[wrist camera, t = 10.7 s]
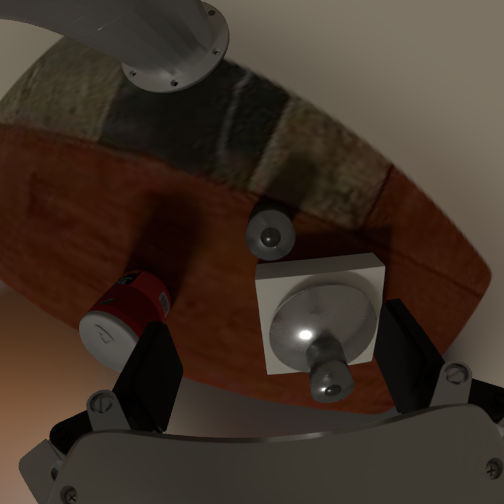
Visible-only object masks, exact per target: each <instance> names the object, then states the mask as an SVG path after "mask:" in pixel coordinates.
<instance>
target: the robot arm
mask: <svg viewBox="0 0 504 504" xmlns="http://www.w3.org/2000/svg"><path fill="white" fill-rule="evenodd" d="M212 15H213V16H212ZM0 19H7V20H14V21H19V22H24V23H28V24H32V25H35V26H38V27H42V28H45V29H48V30H50V31H53V32H56V33H58V34H61V35H64V36H66V37H69V38H71V39H73V40H76V41H78V42H80V43H83V44H85V45H87V46H89V47H92V48H94V49H96V50H98V51H100V52H102V53H104V54H107V55H109V56H111V57H113V58H115V59H117V60H119V61H121V64H122V68H123V71H124V73H125V75H126V76H127V78H128V79H129V80H130V81H131V82H132V83H133V84H135V85H136V86H138V87H140V88H142V89H145V90H147V91H150V92H157V93H170V92H175V91H180V90H183V89H185V88H188V87H191V86H193V85H195V84H196V83H198V82H200V81H202V80H203V79H204V78H206V77H207V76H208V75H210V74H211V73H212V72H213V71H214V70H215V69H216V68H217V66H218V65H219V64H220V62H221V61H222V59H223V58H224V56H225V53H226V51H227V49H228V44H229V29H228V25H227V23H226V20H225V18H224V16H223V15H222V14H221V13H220V11H218V10H217V9H216V8H215V7H213V6H211V5H209V4H207V3H205V2H201V1H200V0H0ZM217 52H219V54H218V55H215V54H216V53H217ZM135 74H136V75H135ZM176 83H178V85H177V86H175V84H176ZM374 356H375V359H376V361H377V363H378V365H379V368H380V370H381V372H382V375H383V377H384V380H385V382H386V384H387V387H388V389H389V392H390V394H391V397H392V399H393V402H394V404H395V407H396V409H397V412H398V413H402V415H399V416H395V417H392V418H388V419H384V420H380V421H375V422H371V423H367V424H362V425H358V426H353V427H348V428H342V429H337V430H331V431H324V432H317V433H309V434H301V435H291V436H279V437H259V438H213V437H194V436H183V435H171V434H162V433H163V432H165V431H166V429H167V426H168V423H169V419H170V416H171V412H172V409H173V405H174V402H175V399H176V395H177V392H178V388H179V385H180V382H181V379H182V375H183V366H182V364H181V361H180V359H179V356H178V354H177V351H176V348H175V346H174V343H173V340H172V338H171V335H170V332H169V329H168V327H167V325H166V324H163V322H162V321H150V322H148V324H147V326H146V327H145V329H144V331H143V333H142V335H141V336H140V338H139V340H138V342H137V344H136V346H135V347H134V349H133V351H132V353H131V355H130V357H129V359H128V360H127V362H126V364H125V366H124V368H123V370H122V372H121V374H120V376H119V378H118V380H117V382H116V384H115V386H114V388H113V390H112V391H110V390H100V391H97V392H96V393H94V394H93V395H92V396H90V398H89V399H88V401H87V405H86V406H87V410H86V411H83V412H81V413H79V414H77V415H75V416H73V417H71V418H68V419H66V420H64V421H62V422H59V423H58V424H56V425H55V426H54V427H53V428H52V430H51V431H50V436H49V437H50V439H49V440H47V439H45V440H43V441H42V442H41V443H40V444H38V445H37V446H36V447H35V448H33V449H32V450H31V451H30V452H28V453H27V454H26V455H25V456H23V457H22V458H21V459H20V462H19V471H20V472H21V475H22V477H23V478H24V480H25V482H26V484H27V486H28V487H29V489H30V491H31V492H32V494H33V496H34V497H35V499H36V501H37V502H38V503H39V504H504V388H502V387H499V386H496V385H492V384H489V383H485V382H482V381H479V380H476V379H473V378H472V372H471V370H470V368H469V367H468V365H466V364H465V363H463V362H461V361H449V362H447V363H445V362H444V360H443V358H442V357H441V355H440V354H439V352H438V351H437V349H436V348H435V346H434V345H433V343H432V342H431V340H430V339H429V337H428V336H427V334H426V333H425V332H424V330H423V329H422V327H421V326H420V325H419V324H418V323H417V322H416V320H415V319H414V317H413V316H412V315H411V313H410V312H409V311H408V309H407V308H406V307H405V305H404V304H403V303H402V301H401V300H400V299H398V298H397V299H392V300H387V301H386V303H385V304H383V305H382V309H381V316H380V322H379V327H378V333H377V338H376V343H375V348H374Z"/></svg>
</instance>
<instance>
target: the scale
mask: <svg viewBox="0 0 504 504" xmlns="http://www.w3.org/2000/svg"><path fill="white" fill-rule="evenodd" d="M384 274H385V265H384V264H383V263H382V262H381V261H380V260H379V259H378V258H377V257H376V256H375V255H374V254H373V253H364V254H354V255H345V256H335V257H325V258H316V259H306V260H295V261H285V262H275V263H264V264H256V277H255V282H256V290H257V297H258V305H259V313H260V321H261V328H262V336H263V344H264V351H265V359H266V367H267V374H281V373H292V372H302V371H298V370H295V369H292V368H290V367H288V366H286V365H285V364H283V363H282V362H281V361H280V360H278V358H277V357H276V356H275V355H274V353H273V351H272V349H271V346H270V342H269V328H270V323H271V320H272V317H273V315H274V313H275V312H276V310H277V309H278V307H279V306H280V305H281V304H282V303H283V302H284V301H285V300H286V299H287V298H288V297H290V296H291V295H293V294H294V293H296V292H297V291H299V290H301V289H303V288H306V287H308V286H311V285H315V284H319V283H327V282H336V283H343V284H348V285H351V286H353V287H355V288H357V289H359V290H360V291H362V292H363V293H364V294H365V295H366V296H367V297H368V299H369V300H370V302H371V303H372V305H373V307H374V309H375V312H376V316H377V327H376V331H375V334H374V337H373V339H372V341H371V343H370V344H369V346H368V347H367V348H366V350H365V351H364V352H363V353H362V354H361V355H360V356H359V357H357V358H356V359H355V360H353V361H352V362H350V363H348V365H352V364H358V363H363V362H368V361H371V360H372V356H373V351H374V345H375V340H376V334H377V328H378V322H379V316H380V309H381V306H382V293H383V284H384Z"/></svg>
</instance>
